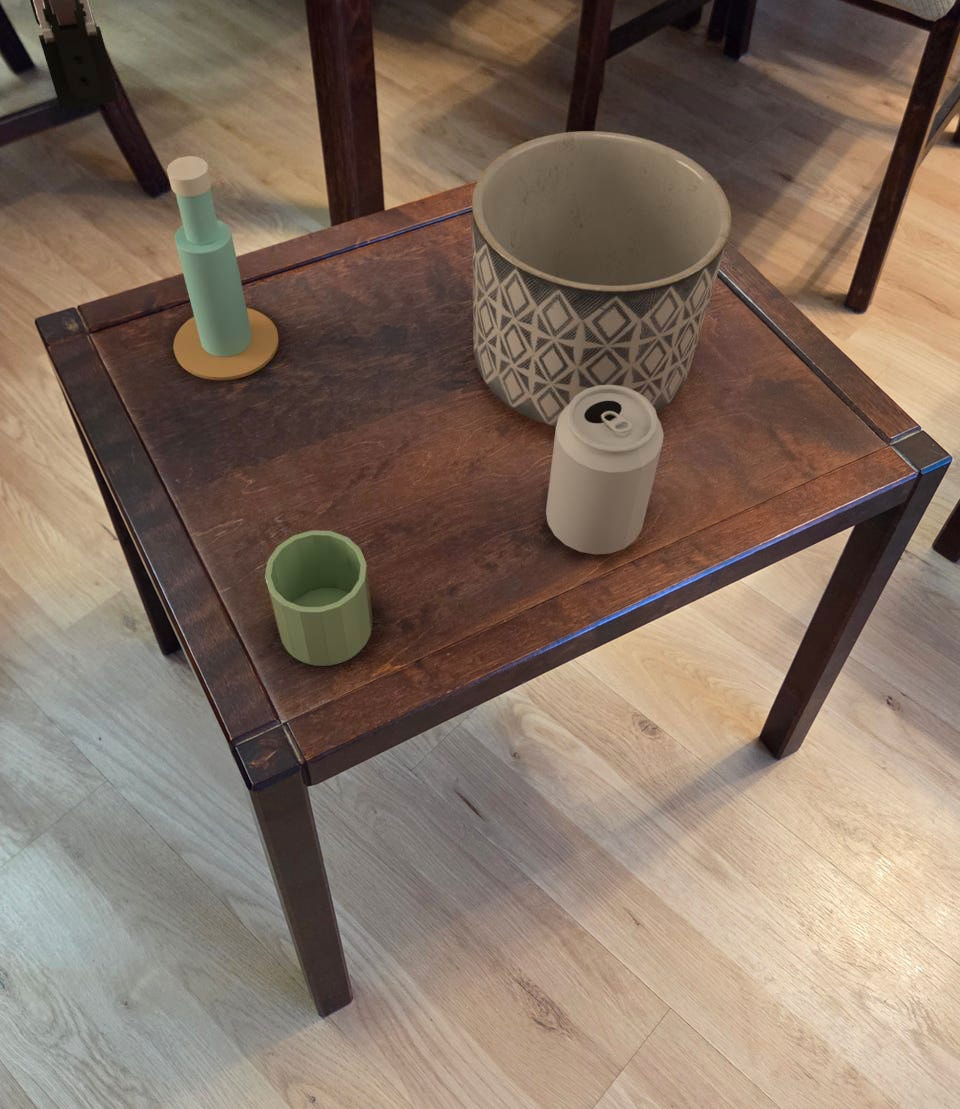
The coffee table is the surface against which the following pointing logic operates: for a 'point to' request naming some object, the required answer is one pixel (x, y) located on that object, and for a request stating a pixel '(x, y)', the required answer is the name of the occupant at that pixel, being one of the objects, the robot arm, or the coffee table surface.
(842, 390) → the coffee table surface
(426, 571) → the coffee table surface
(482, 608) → the coffee table surface
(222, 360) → the coaster
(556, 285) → the planter
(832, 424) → the coffee table surface
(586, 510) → the can
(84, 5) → the robot arm
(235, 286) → the bottle
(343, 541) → the holder
